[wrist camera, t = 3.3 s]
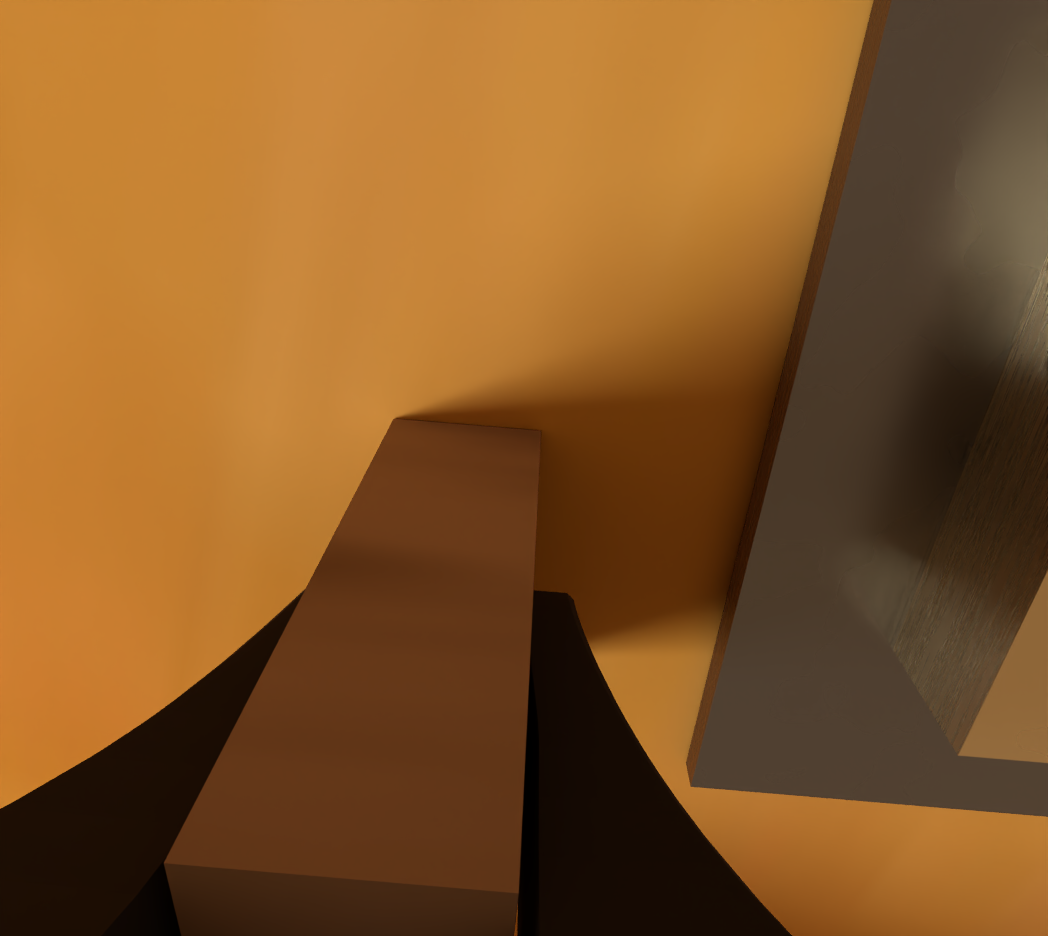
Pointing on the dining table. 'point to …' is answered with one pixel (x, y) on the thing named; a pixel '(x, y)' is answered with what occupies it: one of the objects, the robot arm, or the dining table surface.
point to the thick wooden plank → (386, 715)
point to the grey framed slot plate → (907, 448)
